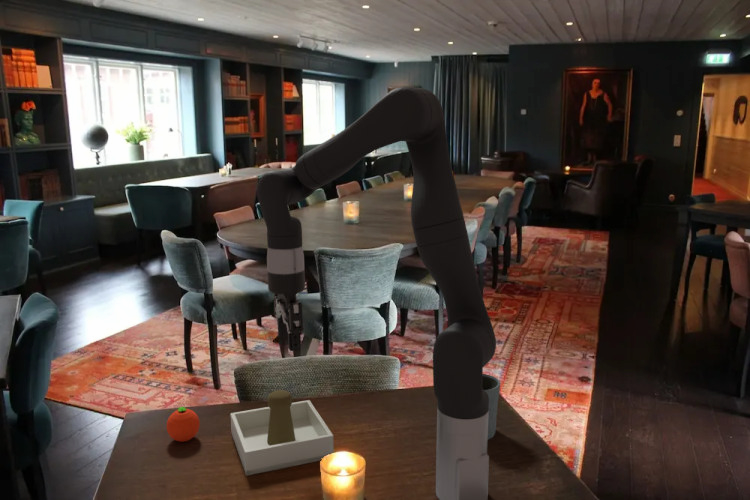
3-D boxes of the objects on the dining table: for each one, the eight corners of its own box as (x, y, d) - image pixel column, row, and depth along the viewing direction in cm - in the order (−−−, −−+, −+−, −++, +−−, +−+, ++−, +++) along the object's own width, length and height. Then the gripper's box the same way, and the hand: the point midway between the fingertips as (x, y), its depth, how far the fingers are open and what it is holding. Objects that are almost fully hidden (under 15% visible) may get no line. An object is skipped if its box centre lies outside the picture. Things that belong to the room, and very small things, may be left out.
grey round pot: (465, 445, 134) (466, 393, 132) (445, 424, 144) (446, 375, 141) (507, 438, 137) (509, 386, 135) (485, 417, 147) (486, 369, 144)
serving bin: (333, 457, 130) (333, 435, 129) (246, 475, 123) (245, 452, 122) (309, 419, 146) (309, 400, 145) (231, 434, 140) (230, 413, 139)
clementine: (165, 433, 140) (163, 403, 139) (197, 427, 143) (195, 398, 141) (169, 450, 133) (166, 419, 131) (202, 443, 136) (200, 413, 134)
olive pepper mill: (290, 449, 131) (288, 400, 129) (262, 446, 132) (260, 397, 130) (299, 435, 137) (297, 388, 135) (273, 432, 138) (271, 385, 136)
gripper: (313, 273, 123) (316, 352, 126) (294, 259, 136) (297, 331, 139) (276, 277, 120) (279, 357, 124) (260, 263, 133) (263, 335, 137)
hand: (288, 343), depth 132 cm, fingers open, 8 cm apart
